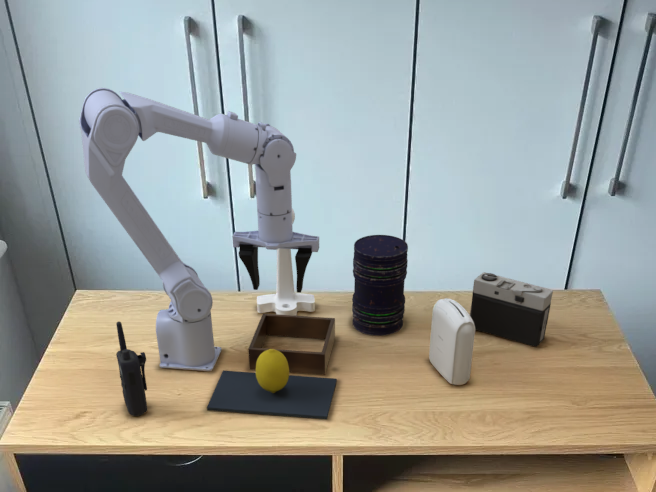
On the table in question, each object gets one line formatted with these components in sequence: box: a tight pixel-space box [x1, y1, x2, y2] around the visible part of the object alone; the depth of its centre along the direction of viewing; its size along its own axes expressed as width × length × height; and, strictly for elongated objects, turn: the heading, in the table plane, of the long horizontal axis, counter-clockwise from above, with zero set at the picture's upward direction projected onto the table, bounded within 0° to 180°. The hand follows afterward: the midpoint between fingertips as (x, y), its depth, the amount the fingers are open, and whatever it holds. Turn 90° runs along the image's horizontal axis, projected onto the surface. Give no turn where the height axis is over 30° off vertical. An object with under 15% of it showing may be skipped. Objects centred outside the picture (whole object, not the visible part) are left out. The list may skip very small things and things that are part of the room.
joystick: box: [256, 208, 316, 316], centre depth 159 cm, size 11×8×20 cm
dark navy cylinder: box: [351, 234, 409, 337], centre depth 158 cm, size 10×10×15 cm
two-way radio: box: [115, 321, 148, 417], centre depth 136 cm, size 6×4×15 cm
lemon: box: [255, 348, 290, 393], centre depth 141 cm, size 6×6×8 cm
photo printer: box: [428, 297, 476, 386], centre depth 146 cm, size 10×4×12 cm, turn 20°
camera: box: [469, 271, 554, 348], centre depth 158 cm, size 14×8×10 cm, turn 58°
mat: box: [206, 370, 338, 420], centre depth 144 cm, size 20×12×1 cm, turn 83°
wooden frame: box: [247, 313, 336, 376], centre depth 153 cm, size 13×13×4 cm
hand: (278, 288), depth 150 cm, fingers open, 7 cm apart
